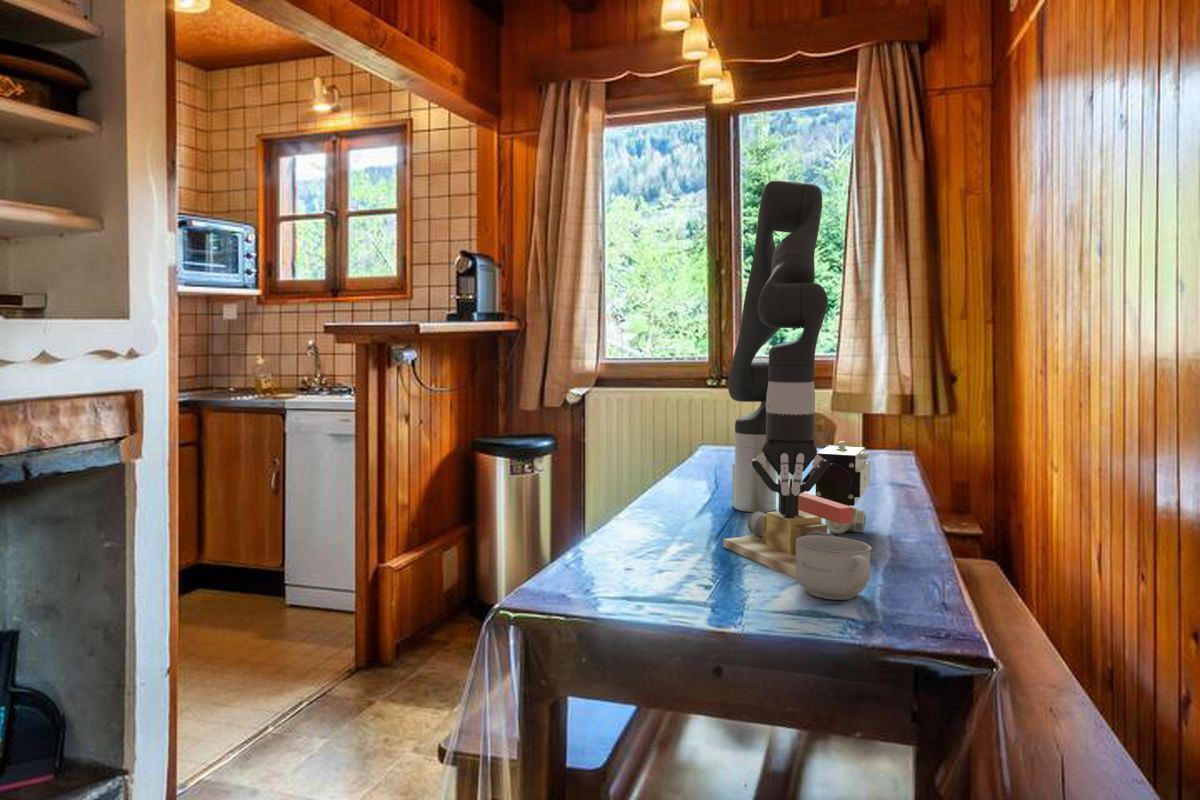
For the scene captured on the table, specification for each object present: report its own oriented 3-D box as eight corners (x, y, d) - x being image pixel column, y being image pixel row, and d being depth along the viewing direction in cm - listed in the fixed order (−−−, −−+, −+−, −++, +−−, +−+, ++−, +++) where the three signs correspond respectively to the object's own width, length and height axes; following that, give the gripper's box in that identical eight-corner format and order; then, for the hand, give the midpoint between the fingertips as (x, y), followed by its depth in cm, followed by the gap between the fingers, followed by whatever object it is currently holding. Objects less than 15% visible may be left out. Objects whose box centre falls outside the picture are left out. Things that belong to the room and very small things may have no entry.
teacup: (784, 583, 121) (785, 533, 120) (852, 582, 122) (853, 531, 121) (817, 615, 107) (818, 558, 106) (893, 612, 108) (894, 556, 107)
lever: (781, 504, 136) (781, 490, 136) (796, 503, 137) (796, 489, 137) (837, 524, 122) (837, 508, 121) (854, 522, 123) (854, 507, 123)
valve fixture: (723, 546, 142) (723, 498, 142) (789, 538, 149) (790, 491, 148) (797, 578, 123) (798, 522, 123) (869, 567, 129) (871, 514, 129)
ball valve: (859, 543, 145) (861, 448, 143) (812, 538, 148) (814, 446, 147) (871, 523, 161) (873, 437, 159) (829, 519, 164) (831, 435, 163)
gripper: (753, 412, 120) (751, 522, 121) (839, 412, 120) (836, 523, 121) (744, 407, 127) (742, 511, 129) (825, 407, 127) (823, 512, 129)
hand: (788, 517), depth 125 cm, fingers closed
